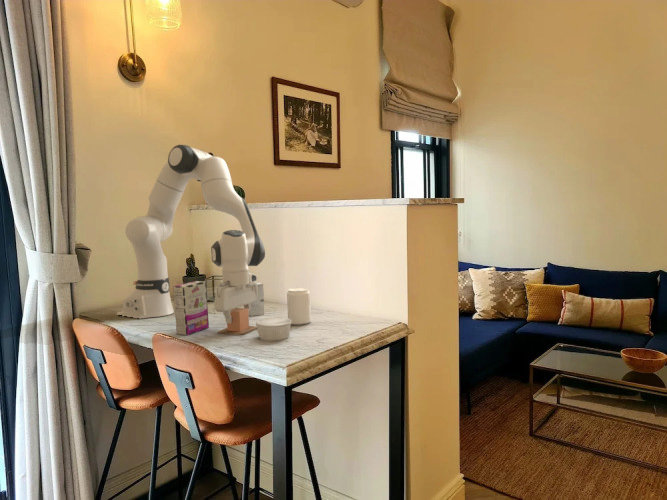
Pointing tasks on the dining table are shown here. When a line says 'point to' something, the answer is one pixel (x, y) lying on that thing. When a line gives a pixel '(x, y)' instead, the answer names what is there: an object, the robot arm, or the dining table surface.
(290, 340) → the dining table surface
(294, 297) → the beverage can
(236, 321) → the salmon orange rectangular block
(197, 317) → the candy bar box
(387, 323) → the dining table surface
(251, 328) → the base plate with peg
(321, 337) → the dining table surface
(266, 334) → the ramekin
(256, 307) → the skincare box
